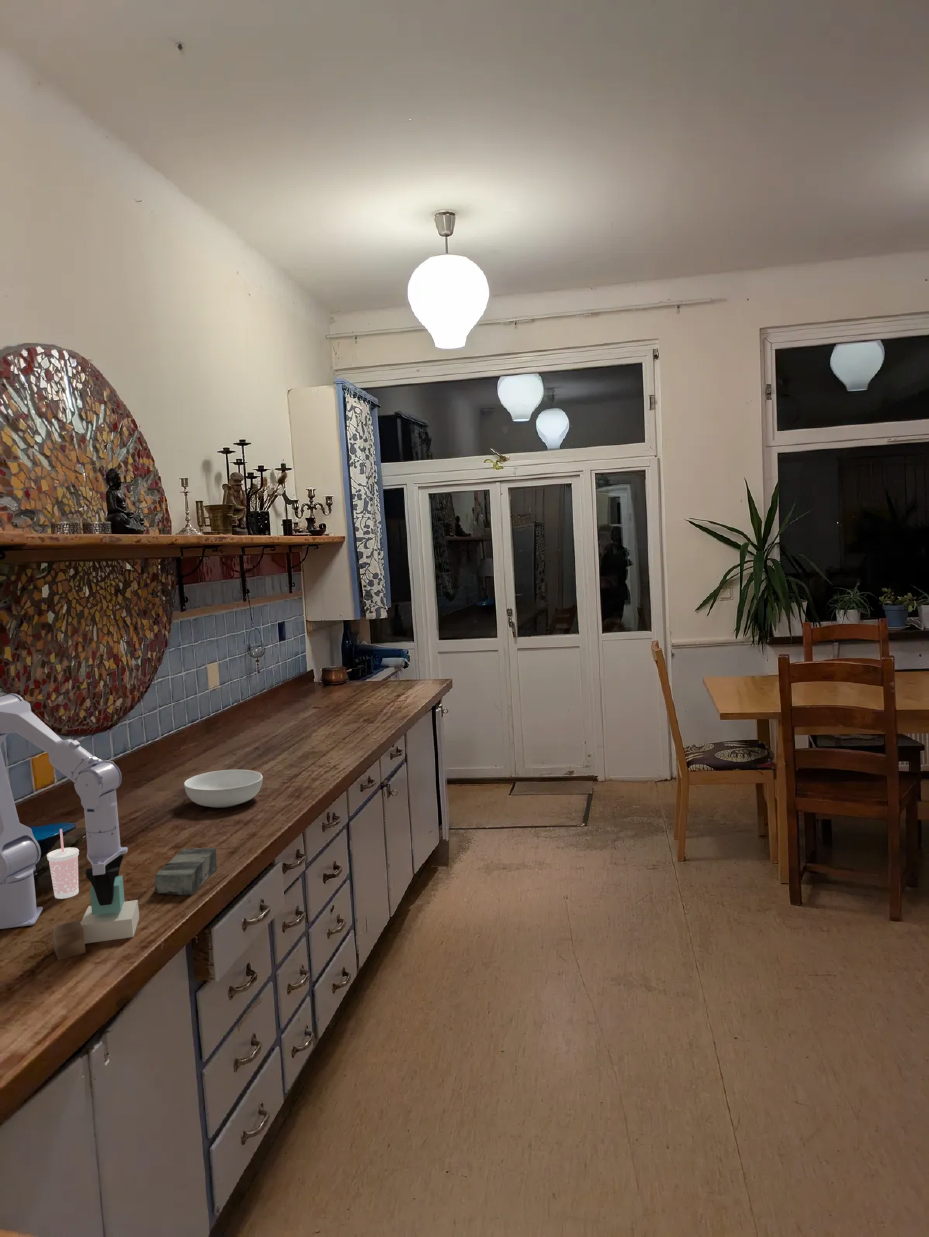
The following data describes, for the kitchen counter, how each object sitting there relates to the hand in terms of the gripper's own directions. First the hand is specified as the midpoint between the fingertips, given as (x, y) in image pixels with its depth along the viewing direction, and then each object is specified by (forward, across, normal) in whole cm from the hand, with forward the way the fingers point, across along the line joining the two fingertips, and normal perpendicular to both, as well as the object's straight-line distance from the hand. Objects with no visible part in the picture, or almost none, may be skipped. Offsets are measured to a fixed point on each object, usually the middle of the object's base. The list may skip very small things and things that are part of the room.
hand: (108, 898), depth 171 cm
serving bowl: (+6, +78, -18) cm, 80 cm away
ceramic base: (+6, 0, 0) cm, 6 cm away
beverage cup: (+6, +22, +12) cm, 26 cm away
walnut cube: (+6, -7, +6) cm, 11 cm away
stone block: (+7, +21, -12) cm, 25 cm away
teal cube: (+2, 0, 0) cm, 2 cm away
